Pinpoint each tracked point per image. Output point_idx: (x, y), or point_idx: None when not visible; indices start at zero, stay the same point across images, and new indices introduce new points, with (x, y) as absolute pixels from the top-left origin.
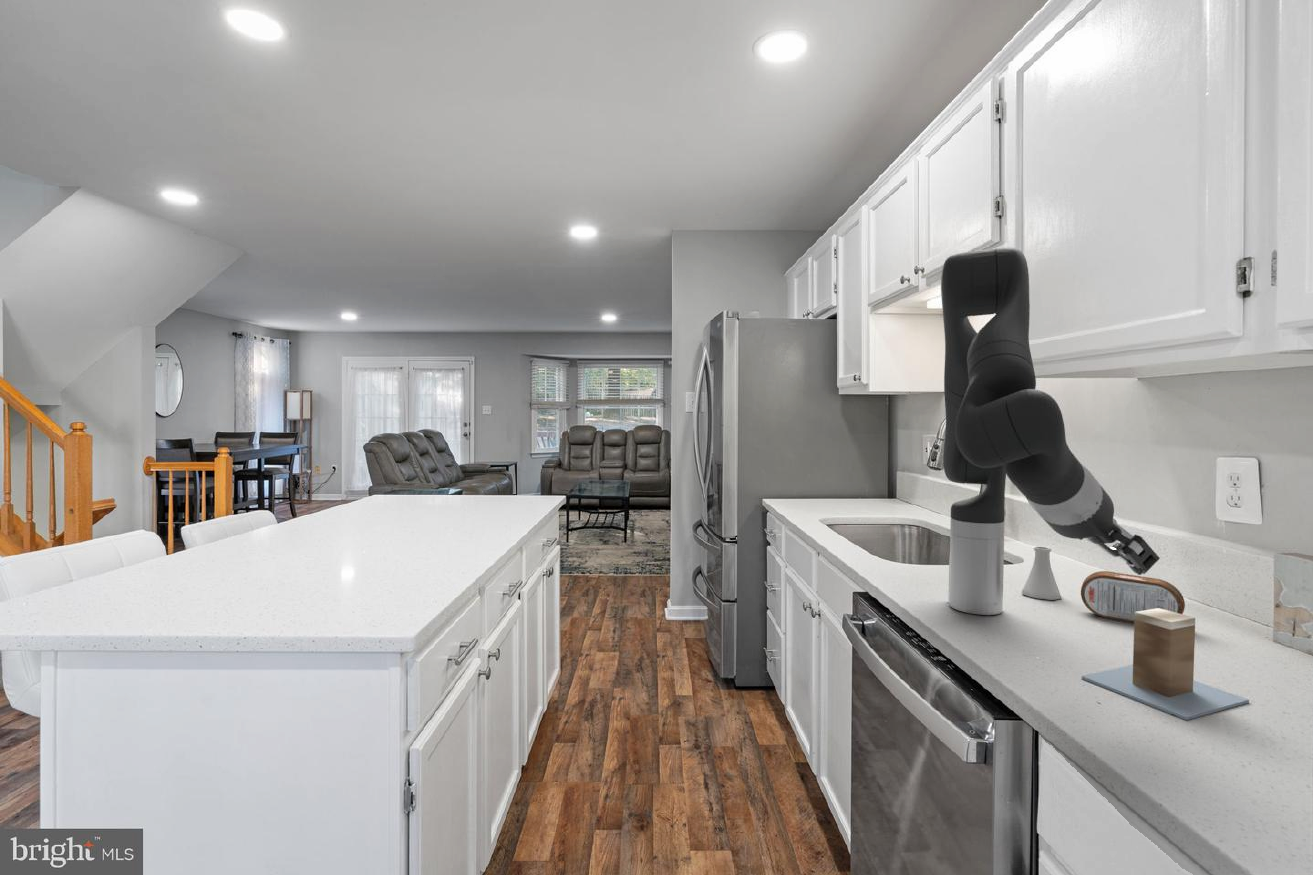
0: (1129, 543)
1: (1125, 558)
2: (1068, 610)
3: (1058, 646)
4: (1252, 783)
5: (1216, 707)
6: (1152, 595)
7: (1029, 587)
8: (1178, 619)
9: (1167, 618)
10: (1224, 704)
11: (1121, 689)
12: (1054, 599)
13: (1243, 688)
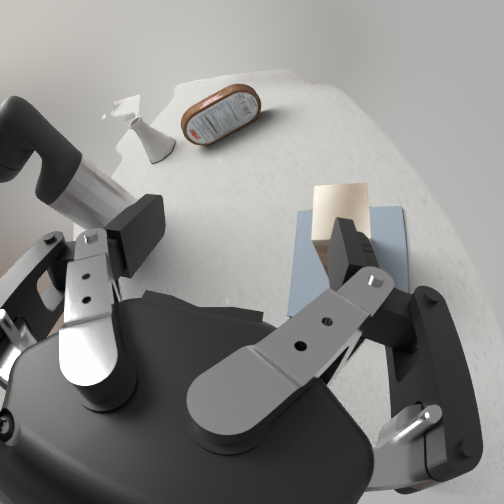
0: (429, 486)
1: (354, 354)
2: (188, 155)
3: (223, 246)
4: (489, 393)
5: (405, 258)
6: (235, 103)
7: (151, 155)
8: (365, 213)
9: (355, 224)
10: (403, 242)
11: None
12: (172, 148)
13: (375, 179)
